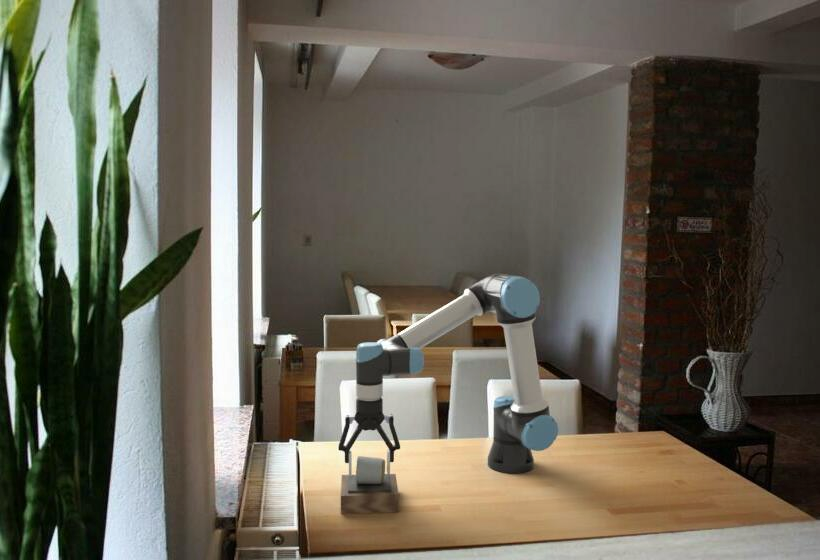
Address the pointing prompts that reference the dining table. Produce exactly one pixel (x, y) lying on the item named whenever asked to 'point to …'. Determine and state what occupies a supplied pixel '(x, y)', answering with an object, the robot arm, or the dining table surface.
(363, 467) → the ceramic mug
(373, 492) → the walnut base
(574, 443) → the dining table surface
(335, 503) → the dining table surface
